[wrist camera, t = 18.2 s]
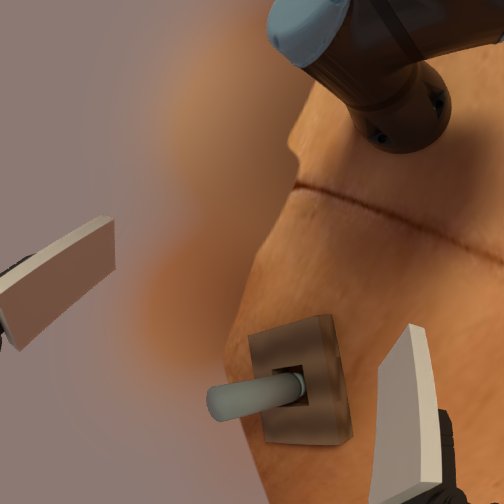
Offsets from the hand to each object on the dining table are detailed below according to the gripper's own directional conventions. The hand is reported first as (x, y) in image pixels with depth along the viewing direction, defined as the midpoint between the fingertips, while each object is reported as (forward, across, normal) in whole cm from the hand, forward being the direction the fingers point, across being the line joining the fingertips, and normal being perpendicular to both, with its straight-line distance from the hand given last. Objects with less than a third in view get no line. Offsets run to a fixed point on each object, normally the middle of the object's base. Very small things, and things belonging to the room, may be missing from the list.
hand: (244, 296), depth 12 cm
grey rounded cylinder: (+20, +9, -28) cm, 36 cm away
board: (+20, +9, -28) cm, 36 cm away
